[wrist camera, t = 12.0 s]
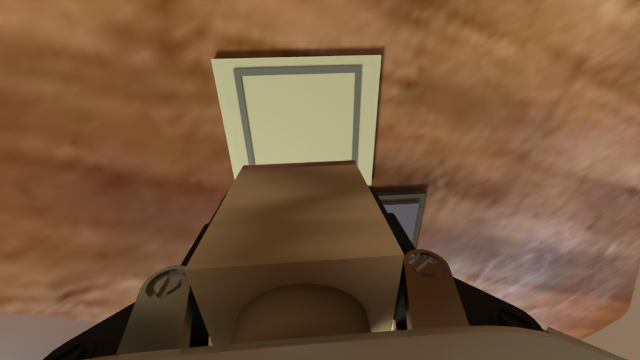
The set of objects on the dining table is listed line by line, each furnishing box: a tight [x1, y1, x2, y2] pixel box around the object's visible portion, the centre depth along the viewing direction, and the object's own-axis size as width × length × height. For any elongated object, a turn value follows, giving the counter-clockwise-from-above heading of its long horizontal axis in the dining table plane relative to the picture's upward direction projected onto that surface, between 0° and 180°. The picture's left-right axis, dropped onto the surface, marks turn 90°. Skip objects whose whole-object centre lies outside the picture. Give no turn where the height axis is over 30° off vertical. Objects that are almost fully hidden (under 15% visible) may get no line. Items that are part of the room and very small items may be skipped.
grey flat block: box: [376, 190, 426, 248], centre depth 32 cm, size 14×11×2 cm
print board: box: [211, 55, 381, 185], centre depth 26 cm, size 16×14×1 cm
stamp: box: [185, 160, 404, 346], centre depth 8 cm, size 5×5×8 cm
